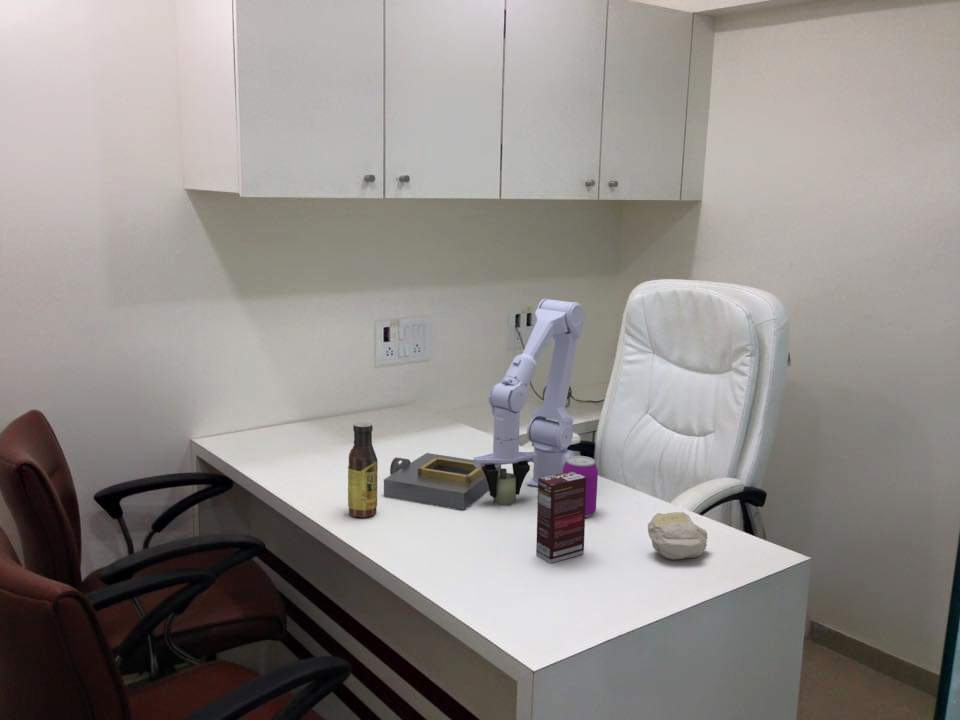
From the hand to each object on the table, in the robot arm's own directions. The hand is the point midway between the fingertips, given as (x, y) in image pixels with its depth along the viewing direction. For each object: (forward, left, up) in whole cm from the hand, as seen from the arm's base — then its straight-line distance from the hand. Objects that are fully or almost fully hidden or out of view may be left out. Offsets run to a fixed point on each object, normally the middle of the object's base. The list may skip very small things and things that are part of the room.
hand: (504, 494), depth 196 cm
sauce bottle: (+25, +20, -2) cm, 32 cm away
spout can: (0, 0, -2) cm, 2 cm away
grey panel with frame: (+17, -2, -2) cm, 18 cm away
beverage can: (-17, -1, -2) cm, 17 cm away
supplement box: (-20, +22, -2) cm, 30 cm away
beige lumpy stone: (-41, +12, -2) cm, 43 cm away
